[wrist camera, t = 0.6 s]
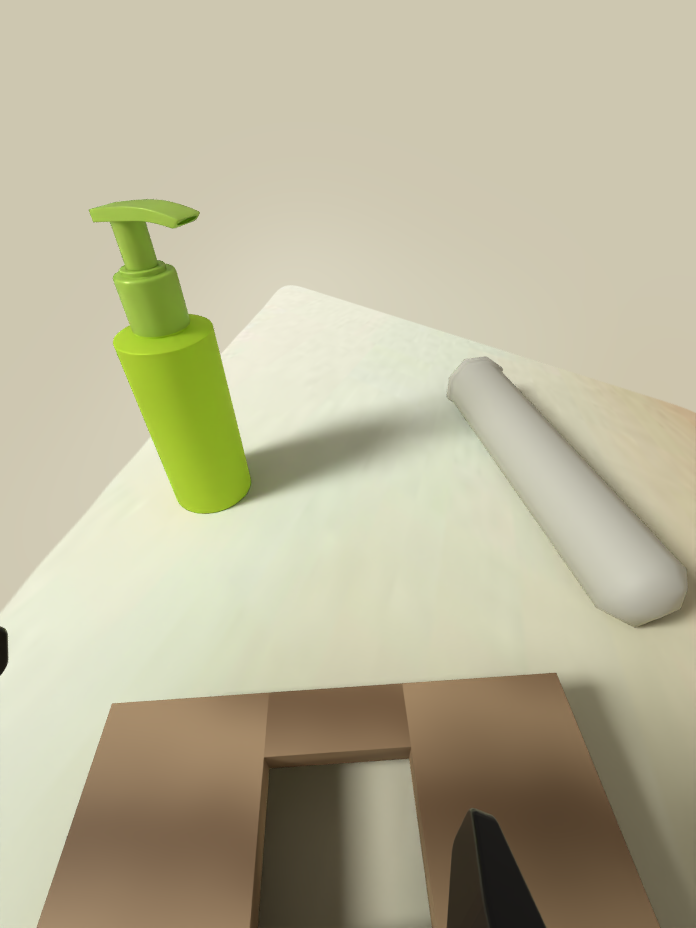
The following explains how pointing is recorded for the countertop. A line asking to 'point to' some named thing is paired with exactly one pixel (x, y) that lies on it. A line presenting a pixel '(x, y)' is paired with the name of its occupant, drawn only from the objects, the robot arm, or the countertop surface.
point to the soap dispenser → (174, 364)
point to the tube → (570, 500)
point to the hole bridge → (333, 742)
